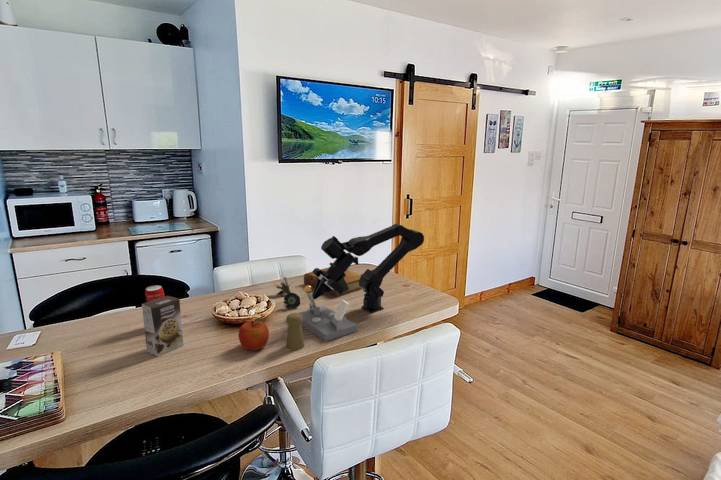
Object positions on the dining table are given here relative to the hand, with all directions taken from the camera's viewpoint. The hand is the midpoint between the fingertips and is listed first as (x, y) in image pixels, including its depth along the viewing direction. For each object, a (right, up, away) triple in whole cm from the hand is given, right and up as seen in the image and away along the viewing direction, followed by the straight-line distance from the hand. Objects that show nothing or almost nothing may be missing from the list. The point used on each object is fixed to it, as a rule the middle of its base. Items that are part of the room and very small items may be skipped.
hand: (313, 298), depth 151 cm
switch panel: (+5, -9, -3) cm, 11 cm away
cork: (-4, -13, -18) cm, 23 cm away
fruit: (-17, -13, -19) cm, 29 cm away
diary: (+6, 0, +38) cm, 39 cm away
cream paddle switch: (+9, -8, -10) cm, 15 cm away
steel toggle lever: (+1, -5, +2) cm, 5 cm away
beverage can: (-54, -9, -6) cm, 55 cm away
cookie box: (-45, -13, -21) cm, 51 cm away
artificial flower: (-14, -4, +22) cm, 26 cm away
